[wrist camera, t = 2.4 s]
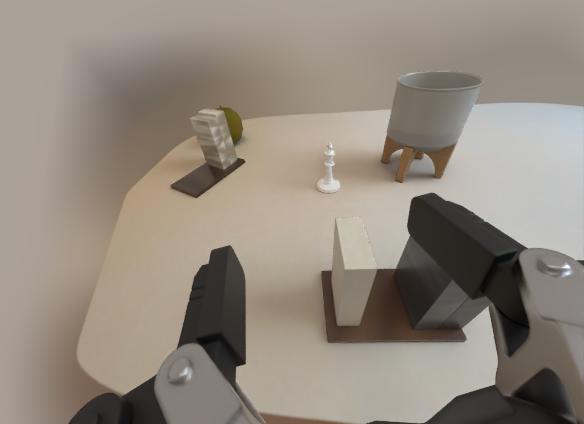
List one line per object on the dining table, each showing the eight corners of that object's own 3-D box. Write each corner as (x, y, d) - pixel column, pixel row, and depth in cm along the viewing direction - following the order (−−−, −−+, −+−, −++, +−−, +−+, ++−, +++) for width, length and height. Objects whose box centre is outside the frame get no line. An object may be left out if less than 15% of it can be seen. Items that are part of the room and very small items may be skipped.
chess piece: (333, 177, 49) (335, 135, 43) (344, 189, 46) (348, 145, 39) (313, 183, 49) (312, 140, 42) (323, 195, 45) (323, 151, 38)
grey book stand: (327, 342, 25) (331, 284, 16) (321, 273, 32) (322, 205, 23) (464, 341, 24) (549, 278, 15) (428, 270, 31) (472, 197, 22)
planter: (449, 163, 50) (491, 72, 38) (431, 192, 43) (474, 92, 31) (393, 149, 56) (413, 69, 44) (369, 172, 50) (385, 84, 38)
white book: (337, 325, 26) (344, 269, 18) (331, 279, 30) (335, 217, 22) (359, 325, 25) (377, 268, 17) (350, 279, 30) (361, 216, 22)
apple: (210, 142, 70) (197, 106, 62) (236, 133, 74) (227, 98, 66) (223, 152, 64) (210, 114, 56) (251, 141, 68) (243, 104, 60)
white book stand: (196, 197, 48) (168, 140, 39) (171, 188, 52) (140, 133, 43) (245, 162, 58) (231, 109, 49) (221, 156, 62) (204, 106, 53)
